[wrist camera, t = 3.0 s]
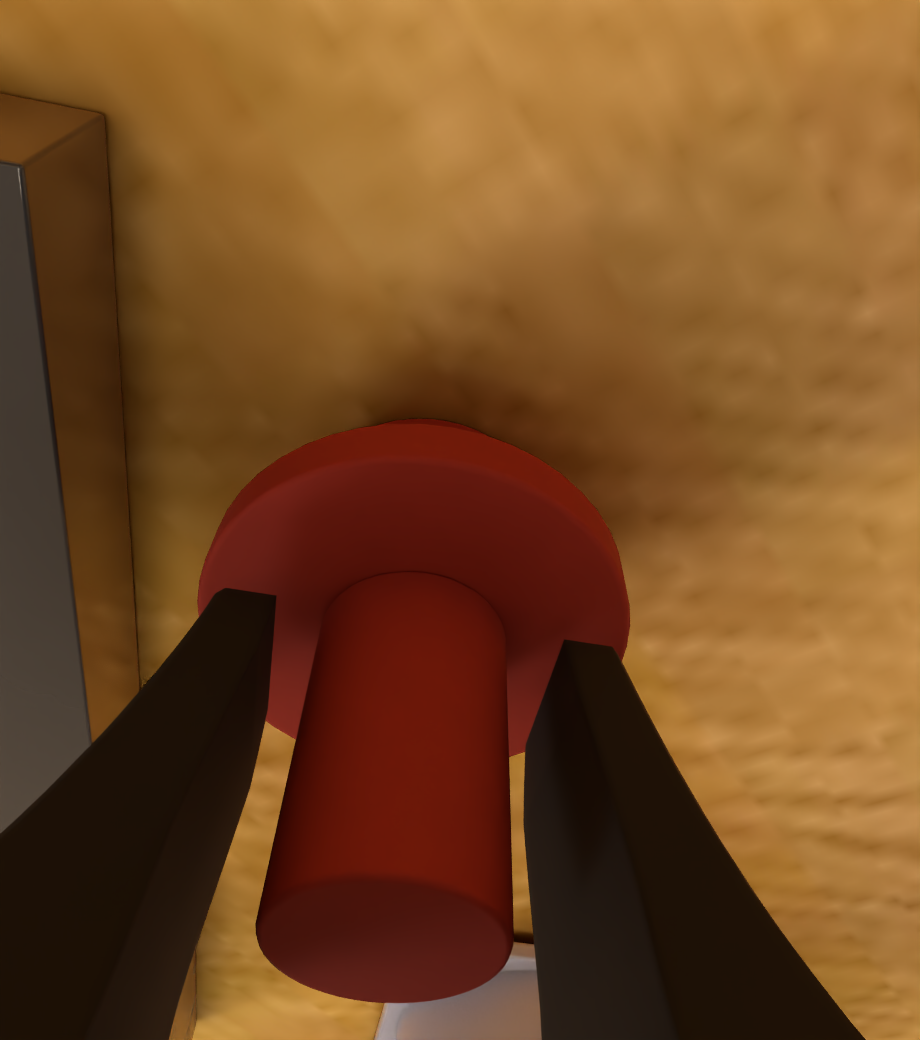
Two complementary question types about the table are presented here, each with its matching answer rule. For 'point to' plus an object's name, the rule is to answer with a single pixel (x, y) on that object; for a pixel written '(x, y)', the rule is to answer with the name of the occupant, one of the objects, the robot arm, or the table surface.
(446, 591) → the stopper
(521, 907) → the table surface
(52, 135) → the dark marbled square slab
